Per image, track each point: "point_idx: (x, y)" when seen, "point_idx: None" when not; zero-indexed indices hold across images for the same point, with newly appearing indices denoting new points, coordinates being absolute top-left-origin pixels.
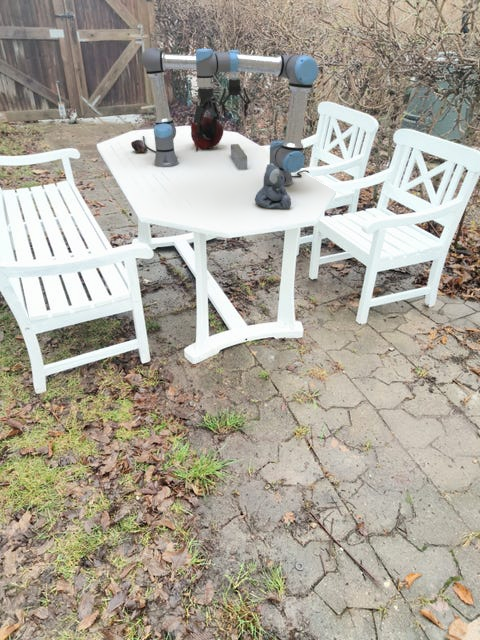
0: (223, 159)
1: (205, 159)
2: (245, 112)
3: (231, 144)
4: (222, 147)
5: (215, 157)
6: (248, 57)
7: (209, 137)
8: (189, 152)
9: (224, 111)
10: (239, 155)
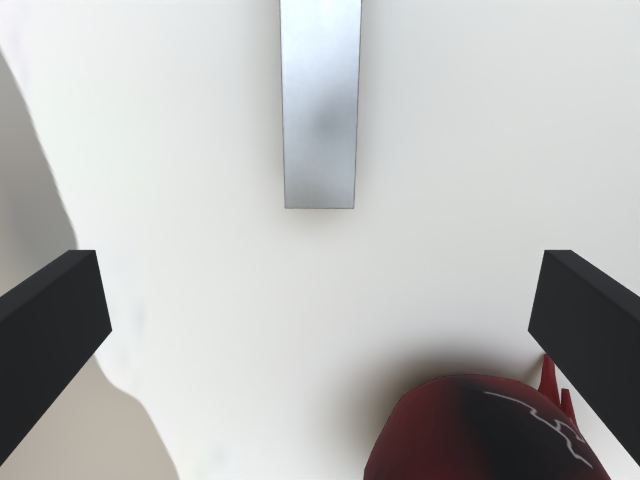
0: (422, 109)
1: (555, 140)
2: (39, 282)
3: (348, 202)
4: (359, 406)
5: (466, 180)
6: None
7: (496, 401)
8: None
9: (638, 303)
10: None
